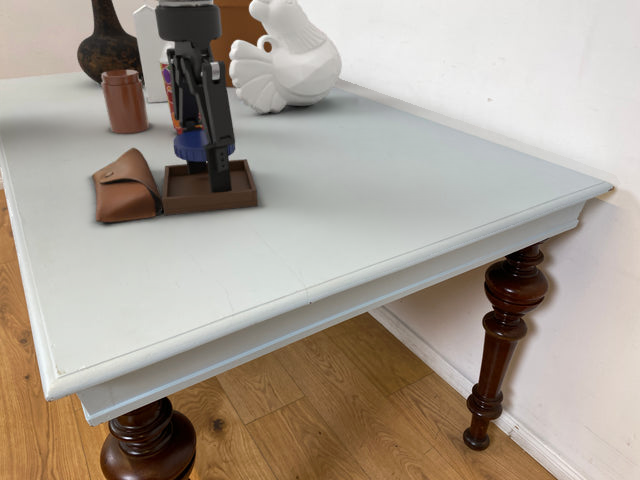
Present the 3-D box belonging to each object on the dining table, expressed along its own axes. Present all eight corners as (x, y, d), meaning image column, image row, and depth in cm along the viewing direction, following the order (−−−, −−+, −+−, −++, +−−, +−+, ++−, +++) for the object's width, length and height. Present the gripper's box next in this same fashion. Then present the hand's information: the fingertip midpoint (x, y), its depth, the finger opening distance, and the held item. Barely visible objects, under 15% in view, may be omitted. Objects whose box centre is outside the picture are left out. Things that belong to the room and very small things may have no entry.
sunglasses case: (87, 173, 73) (103, 134, 72) (133, 188, 77) (149, 151, 76) (95, 224, 59) (114, 176, 58) (150, 239, 63) (170, 194, 62)
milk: (148, 103, 113) (128, -2, 101) (148, 97, 118) (130, -4, 106) (175, 101, 114) (158, -3, 103) (174, 95, 119) (158, -5, 108)
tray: (164, 215, 63) (161, 199, 61) (167, 179, 73) (165, 165, 72) (257, 205, 65) (256, 190, 64) (247, 172, 75) (246, 158, 74)
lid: (232, 140, 70) (231, 127, 69) (237, 159, 63) (236, 145, 62) (175, 144, 68) (173, 131, 68) (174, 164, 62) (172, 149, 61)
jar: (109, 134, 92) (96, 77, 86) (113, 124, 98) (101, 70, 92) (148, 132, 93) (138, 75, 88) (150, 121, 99) (141, 68, 94)
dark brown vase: (157, 75, 141) (140, -35, 126) (146, 88, 125) (125, -35, 111) (94, 76, 138) (68, -36, 124) (75, 90, 123) (44, -35, 109)
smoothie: (214, 125, 97) (202, 17, 87) (215, 138, 90) (202, 21, 80) (171, 127, 96) (154, 17, 86) (169, 141, 89) (150, 23, 79)
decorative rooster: (334, 65, 118) (266, -24, 106) (364, 63, 104) (290, -40, 92) (264, 137, 117) (187, 55, 105) (285, 145, 103) (200, 51, 91)
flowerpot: (269, 67, 151) (264, -18, 139) (313, 84, 130) (312, -14, 119) (181, 76, 139) (168, -16, 127) (214, 96, 118) (202, -11, 106)
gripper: (255, 7, 51) (267, 201, 62) (186, -3, 66) (206, 155, 77) (187, 10, 47) (213, 215, 59) (130, -1, 62) (159, 164, 74)
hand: (209, 181), depth 68 cm, fingers closed on lid, 8 cm apart
